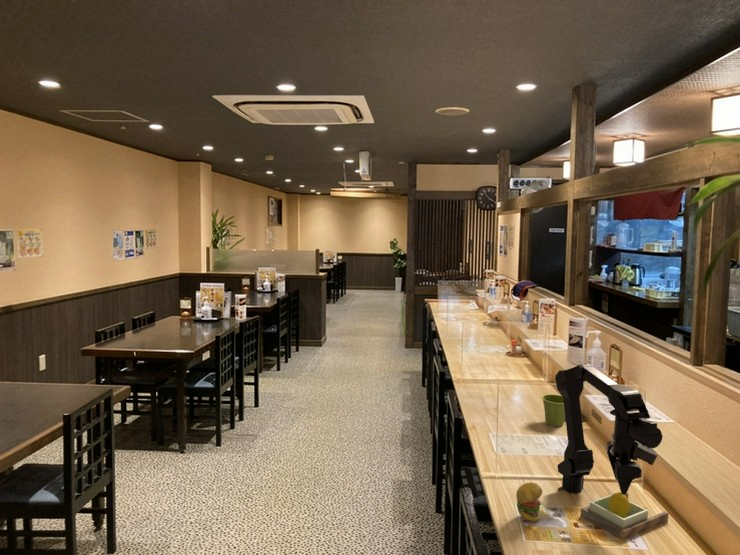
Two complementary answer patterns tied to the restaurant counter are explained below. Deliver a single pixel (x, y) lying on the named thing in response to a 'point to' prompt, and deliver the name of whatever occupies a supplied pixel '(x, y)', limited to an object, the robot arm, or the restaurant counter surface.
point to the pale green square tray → (603, 511)
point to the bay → (626, 531)
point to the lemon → (619, 504)
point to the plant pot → (554, 409)
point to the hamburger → (529, 501)
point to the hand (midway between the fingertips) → (620, 486)
